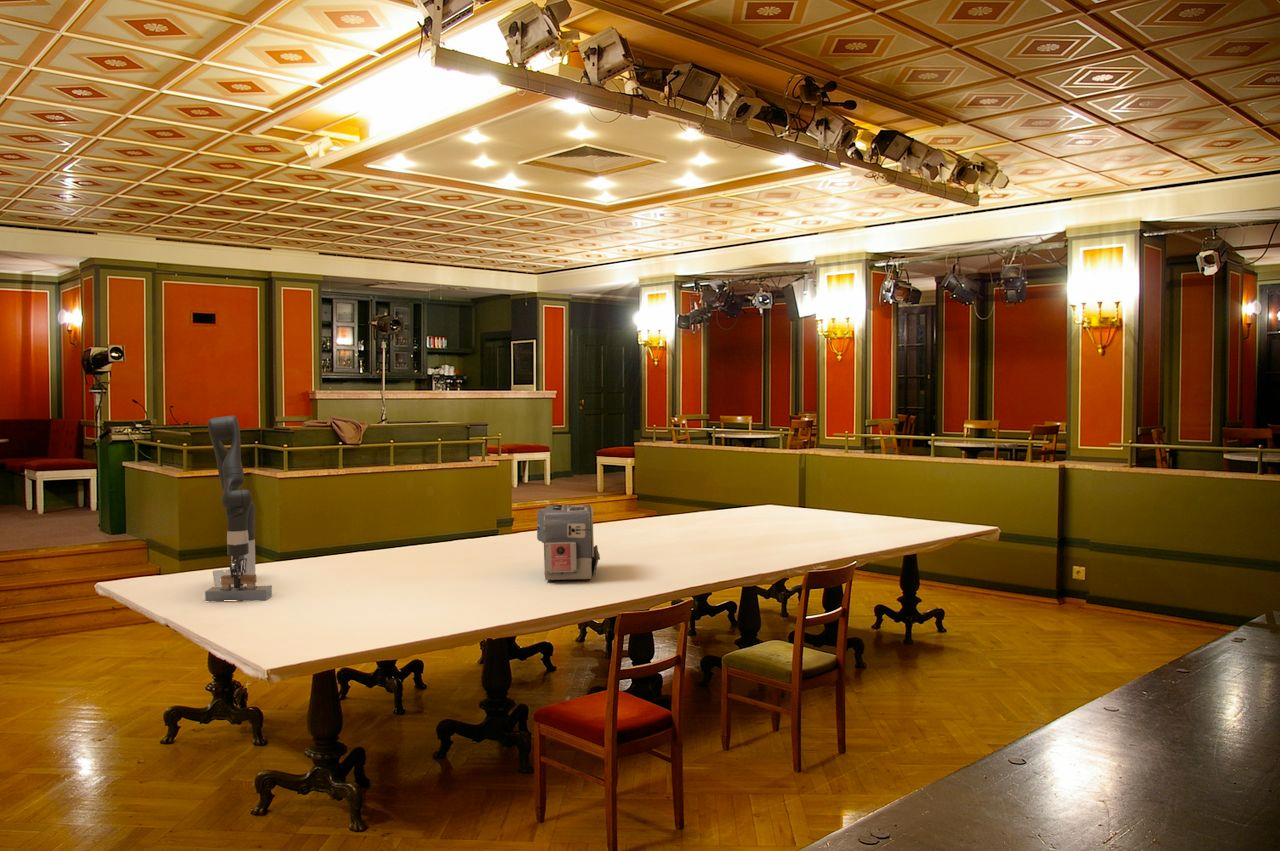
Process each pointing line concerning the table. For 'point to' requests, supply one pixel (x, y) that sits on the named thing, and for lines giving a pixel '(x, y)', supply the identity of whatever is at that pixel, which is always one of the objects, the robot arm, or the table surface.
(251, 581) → the brown u-shaped block
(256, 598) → the grey slotted holder
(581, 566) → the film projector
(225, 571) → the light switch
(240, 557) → the robot arm
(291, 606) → the table surface
